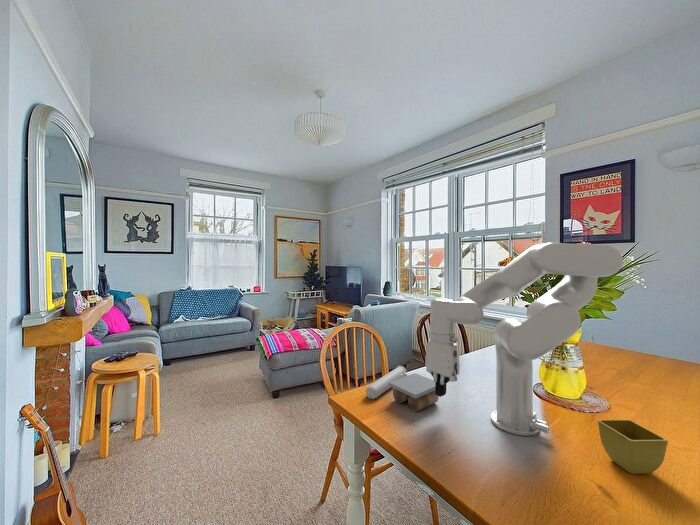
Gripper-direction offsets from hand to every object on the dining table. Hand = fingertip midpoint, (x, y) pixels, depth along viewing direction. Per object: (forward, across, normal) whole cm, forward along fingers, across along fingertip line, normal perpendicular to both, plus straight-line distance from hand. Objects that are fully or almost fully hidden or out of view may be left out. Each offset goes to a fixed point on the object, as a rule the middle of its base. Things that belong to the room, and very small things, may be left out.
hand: (440, 394), depth 91 cm
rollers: (+7, +10, 0) cm, 12 cm away
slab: (+1, +11, 0) cm, 11 cm away
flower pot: (+6, -42, -16) cm, 45 cm away
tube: (+8, +25, -1) cm, 26 cm away
